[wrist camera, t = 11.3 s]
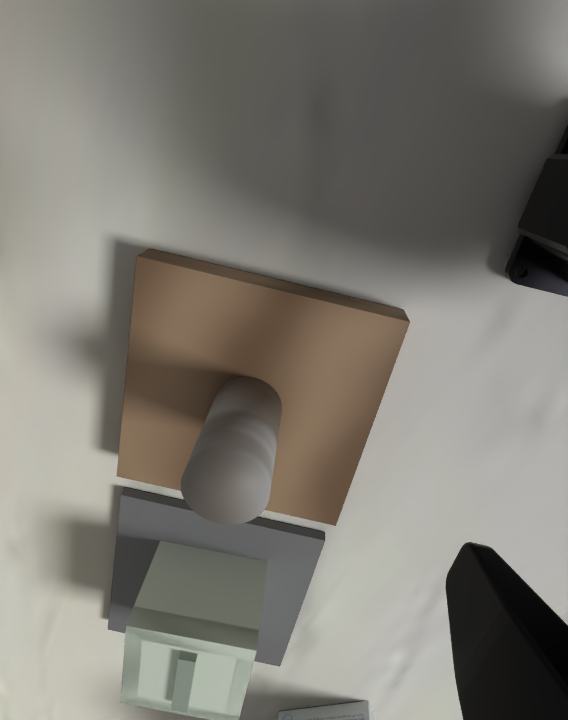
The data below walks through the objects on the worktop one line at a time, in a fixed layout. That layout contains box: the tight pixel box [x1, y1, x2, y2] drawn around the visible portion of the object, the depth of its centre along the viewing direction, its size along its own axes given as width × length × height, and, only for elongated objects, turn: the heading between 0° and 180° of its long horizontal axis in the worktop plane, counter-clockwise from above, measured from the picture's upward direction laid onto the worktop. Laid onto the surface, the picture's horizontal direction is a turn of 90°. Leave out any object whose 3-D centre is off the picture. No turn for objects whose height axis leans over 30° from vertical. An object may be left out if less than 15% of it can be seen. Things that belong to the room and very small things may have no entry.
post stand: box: [117, 249, 410, 526], centre depth 19 cm, size 11×11×7 cm
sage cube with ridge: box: [121, 541, 268, 720], centre depth 24 cm, size 6×6×5 cm
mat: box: [108, 487, 325, 666], centre depth 27 cm, size 11×11×1 cm
